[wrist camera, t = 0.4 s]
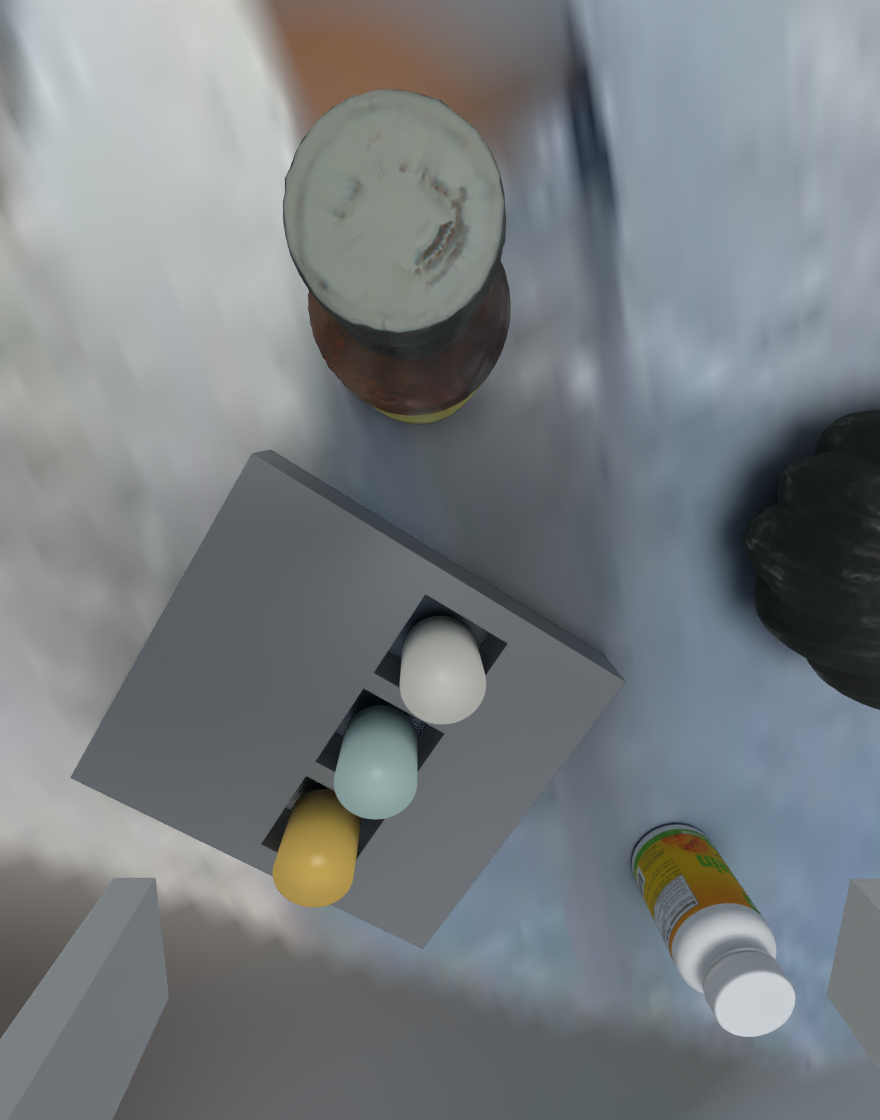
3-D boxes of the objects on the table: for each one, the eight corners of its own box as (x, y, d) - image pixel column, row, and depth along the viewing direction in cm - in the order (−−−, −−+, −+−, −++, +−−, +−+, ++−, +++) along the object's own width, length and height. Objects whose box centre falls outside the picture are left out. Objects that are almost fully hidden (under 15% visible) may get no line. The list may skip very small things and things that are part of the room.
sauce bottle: (497, 393, 30) (637, 344, 11) (388, 443, 30) (334, 482, 11) (446, 267, 29) (503, -53, 9) (332, 322, 29) (158, 123, 10)
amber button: (277, 830, 33) (258, 885, 29) (312, 777, 32) (297, 826, 28) (338, 861, 33) (327, 919, 29) (374, 809, 33) (368, 862, 29)
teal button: (330, 749, 32) (318, 795, 28) (368, 692, 31) (361, 731, 27) (393, 782, 32) (389, 832, 28) (431, 727, 32) (433, 771, 28)
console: (105, 741, 34) (70, 777, 30) (270, 449, 30) (252, 453, 27) (422, 901, 37) (422, 949, 34) (604, 655, 34) (625, 682, 30)
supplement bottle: (729, 847, 37) (834, 992, 28) (675, 905, 38) (759, 1065, 29) (665, 806, 36) (752, 942, 27) (612, 867, 37) (678, 1019, 28)
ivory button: (387, 663, 31) (383, 698, 27) (428, 601, 30) (429, 628, 26) (451, 699, 31) (455, 738, 27) (492, 640, 30) (502, 672, 27)
